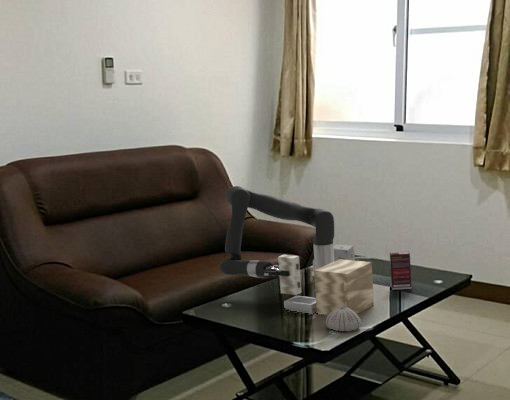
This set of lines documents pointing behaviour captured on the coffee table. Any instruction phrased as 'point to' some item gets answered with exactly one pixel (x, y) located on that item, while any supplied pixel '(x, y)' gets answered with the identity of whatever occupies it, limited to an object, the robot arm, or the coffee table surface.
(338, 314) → the sea urchin shell
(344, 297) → the patterned beige box
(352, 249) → the incense holder
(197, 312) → the coffee table surface
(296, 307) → the grey rectangular tray
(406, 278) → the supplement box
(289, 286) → the beige upright rectangular block
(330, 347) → the coffee table surface
